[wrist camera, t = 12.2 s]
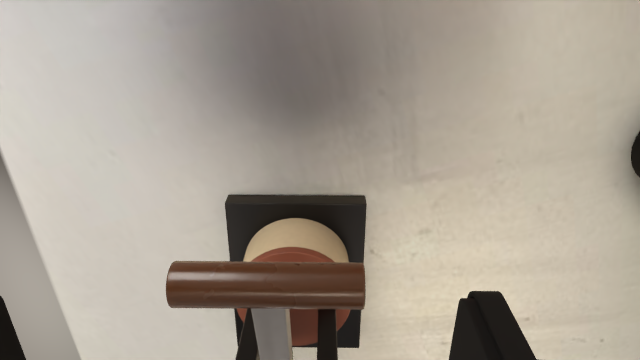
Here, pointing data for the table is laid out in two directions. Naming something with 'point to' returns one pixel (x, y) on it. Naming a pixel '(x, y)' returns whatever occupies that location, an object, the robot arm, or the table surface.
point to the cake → (298, 246)
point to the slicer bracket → (328, 210)
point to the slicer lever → (267, 293)
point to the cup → (636, 155)
